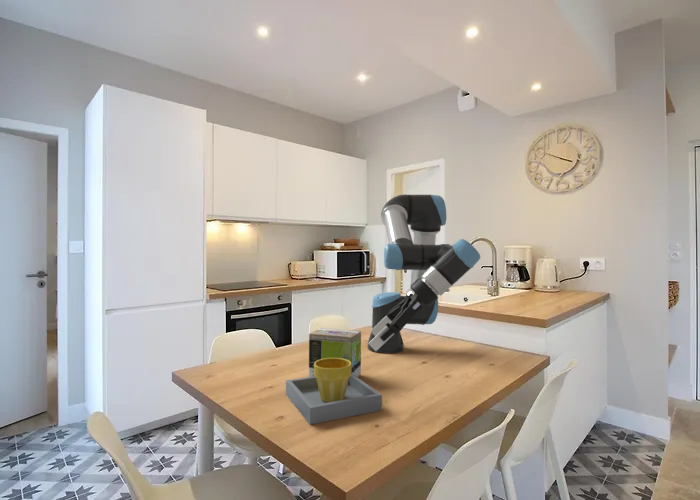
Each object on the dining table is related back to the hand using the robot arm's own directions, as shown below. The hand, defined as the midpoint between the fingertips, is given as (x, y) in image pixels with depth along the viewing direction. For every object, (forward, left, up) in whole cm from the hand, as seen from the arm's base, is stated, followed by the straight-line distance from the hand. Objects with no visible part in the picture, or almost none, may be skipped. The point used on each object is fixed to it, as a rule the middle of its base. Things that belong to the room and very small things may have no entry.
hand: (372, 340), depth 102 cm
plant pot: (-5, -9, -16) cm, 20 cm away
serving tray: (-5, -10, -17) cm, 20 cm away
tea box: (-23, -1, -18) cm, 29 cm away
